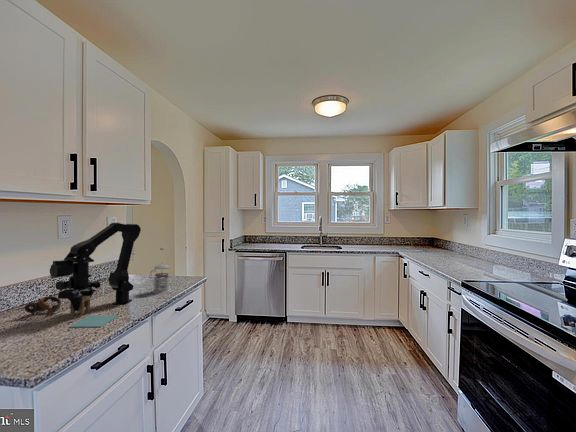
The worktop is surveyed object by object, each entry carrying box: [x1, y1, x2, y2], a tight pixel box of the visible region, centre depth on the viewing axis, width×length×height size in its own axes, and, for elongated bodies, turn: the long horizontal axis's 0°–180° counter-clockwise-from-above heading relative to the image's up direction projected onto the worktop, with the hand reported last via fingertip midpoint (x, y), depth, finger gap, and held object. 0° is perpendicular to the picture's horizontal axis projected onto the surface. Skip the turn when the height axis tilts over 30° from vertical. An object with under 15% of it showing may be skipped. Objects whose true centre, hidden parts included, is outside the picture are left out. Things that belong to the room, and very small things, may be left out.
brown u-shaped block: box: [69, 296, 91, 316], centre depth 124 cm, size 5×5×7 cm
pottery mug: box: [23, 295, 62, 316], centre depth 124 cm, size 12×10×8 cm
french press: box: [148, 247, 171, 294], centre depth 163 cm, size 10×12×25 cm
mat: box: [69, 314, 119, 328], centre depth 117 cm, size 12×12×1 cm
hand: (80, 309), depth 124 cm, fingers closed on brown u-shaped block, 5 cm apart
